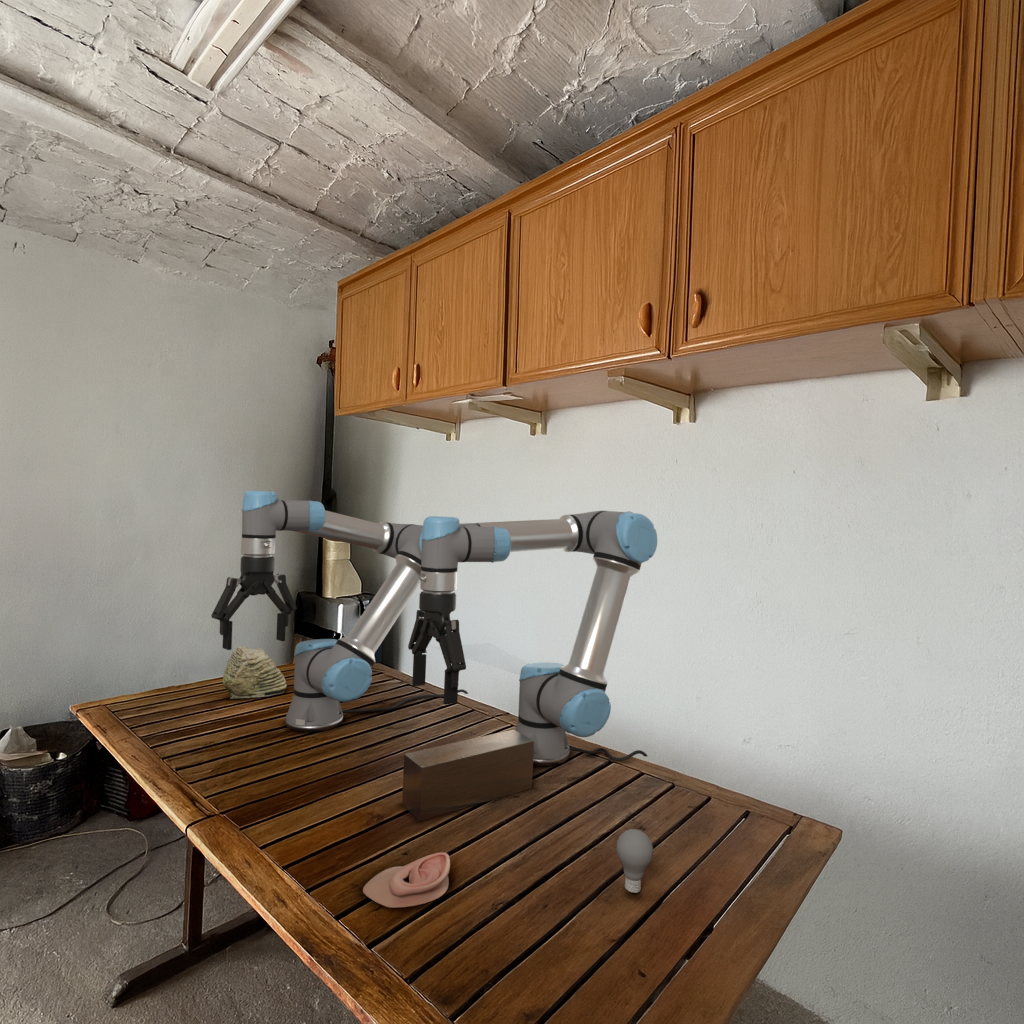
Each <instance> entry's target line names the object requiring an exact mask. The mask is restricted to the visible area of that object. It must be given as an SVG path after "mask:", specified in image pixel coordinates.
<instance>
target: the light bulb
mask: <svg viewBox="0 0 1024 1024" xmlns="http://www.w3.org/2000/svg"><path fill="white" fill-rule="evenodd" d="M615 849H616V854H617V857H618V859H619V861H620V863H621V865H622V867H623V873H624V874H623V875H624V876H625V878H624V888H625V890H627V891H628V892H630V893H634V894H635V893H639V892H640V891H641V889H642V887H641V886H642V879H643V877H644V875H645V871H646V868H647V867H648V866H649V864H650V863H651V861H652V859H653V855H654V847H653V843H652V841H651V838H649V836H648V835H647V834H646V833H645V832H643V831H642V830H641V829H636V828H629V829H627V830H625V831H623V832H622V833H621V834H620V835H619V837H618V839H617V841H616V847H615Z"/></svg>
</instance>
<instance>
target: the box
mask: <svg viewBox="0 0 1024 1024" xmlns="http://www.w3.org/2000/svg"><path fill="white" fill-rule="evenodd" d="M515 730H516V729H510V730H506V731H500V732H497V733H496V732H495V733H491V734H488V735H483V736H478V737H474V738H469V739H465V740H460V741H455V742H451V743H447V744H442V745H438V746H433V747H428V748H423V749H419V750H415V751H411V752H406V753H404V754H403V771H402V772H403V773H402V775H403V776H402V797H401V806H403V807H404V808H405V809H406V810H407V811H408V812H409V813H410V814H411V815H413V817H414V818H415V819H417V820H418V822H422V821H426V820H429V819H433V818H436V817H441V816H443V815H446V814H450V813H453V812H455V811H459V810H463V809H466V808H470V807H473V806H476V805H480V804H483V803H486V802H490V801H493V800H497V799H501V798H503V797H507V796H510V795H514V794H517V793H521V792H525V791H528V790H530V789H533V777H534V776H533V772H534V765H533V754H534V740H532V739H530V738H528V737H526V736H524V735H522V734H521V733H519V732H517V731H515Z"/></svg>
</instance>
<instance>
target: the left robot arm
mask: <svg viewBox="0 0 1024 1024" xmlns="http://www.w3.org/2000/svg"><path fill="white" fill-rule="evenodd" d="M241 514H242V515H241V516H242V517H241V518H242V519H241V520H242V521H241V526H242V527H241V542H240V543H241V545H240V554H241V555H243V556H241V557H240V577H239V578H238V577H231V576H228V577H227V578H226V582H225V587H224V589H223V591H222V593H221V595H220V597H219V599H218V601H217V603H216V605H215V607H214V609H213V611H212V613H211V618H212V619H215V620H218V621H219V635H221V636H222V649H224V650H226V651H231V650H232V647H233V621H232V620H231V619H232V617H233V616H234V615H235V613H236V612H237V611H238V609H240V607H241V605H242V604H243V603H244V602H245V600H246V599H248V598H249V597H250V596H252V597H253V596H258V595H261V596H263V595H266V596H267V598H269V599H270V601H271V602H272V603H273V604H274V605H275V607H276V608H277V609H278V610H279V613H277V614H276V640H277V641H280V642H286V633H287V632H286V628H287V627H289V621H290V615H291V614H292V612H293V611H296V610H297V605H296V602H295V600H294V597H293V595H292V594H291V591H290V589H289V586H288V584H287V576H286V574H283V573H277V574H274V572H275V564H276V562H275V561H276V558H275V556H273V555H275V554H276V538H277V532H282V531H290V532H296V533H301V534H305V535H310V536H315V537H319V538H323V539H327V540H333V541H338V542H341V543H345V544H350V545H354V546H359V547H363V548H368V549H372V551H373V552H374V553H376V554H380V555H383V556H386V557H389V558H392V559H395V565H394V567H393V569H392V571H390V573H389V574H388V576H387V577H386V579H385V580H384V582H383V583H382V584H381V586H380V588H379V589H378V591H377V592H376V594H375V595H374V596H373V598H372V600H370V602H369V604H368V606H367V607H366V608H365V610H364V611H363V613H362V614H361V615H360V617H359V618H358V620H357V621H356V623H355V625H354V626H353V627H352V628H351V630H350V631H349V633H348V635H347V636H344V637H340V638H338V639H336V638H319V639H308V640H303V641H300V642H297V644H296V645H295V650H294V655H293V656H294V672H293V695H292V696H293V697H292V699H291V702H290V704H289V708H288V711H287V713H286V715H285V726H286V728H287V729H289V730H291V731H294V732H295V731H296V732H301V733H316V732H325V731H329V730H332V729H335V728H337V727H339V726H340V725H342V723H343V722H344V714H357V713H358V714H362V713H363V714H364V713H379V712H386V711H391V710H394V709H396V708H398V707H399V706H401V705H403V704H405V703H408V702H411V701H414V700H419V699H424V698H444V693H442V694H441V693H439V694H436V693H434V694H433V693H431V694H420V695H416V696H412V697H411V696H410V697H409V698H406V699H403V700H401V701H399V702H397V703H395V704H394V705H391V706H388V707H381V708H366V709H342V706H341V703H350V702H353V701H357V700H358V699H359V698H361V697H362V696H364V694H365V693H366V692H367V691H368V690H369V688H370V686H371V684H372V680H373V677H372V675H373V671H372V668H373V666H374V665H375V663H376V657H375V655H376V654H375V653H377V650H378V649H379V647H380V646H381V644H382V643H383V641H384V640H385V638H386V636H388V634H389V632H390V630H391V629H392V627H393V626H394V625H395V623H396V621H397V620H398V618H399V617H400V615H401V614H402V612H403V610H404V609H405V608H406V606H407V604H408V603H409V601H410V600H411V599H412V597H413V595H414V594H415V593H416V591H417V589H418V587H420V581H421V580H420V579H419V577H420V576H421V554H422V540H421V537H422V529H423V524H415V523H396V522H395V523H394V522H393V523H392V522H387V521H383V520H382V521H380V522H375V521H370V520H365V519H362V518H358V517H354V516H350V515H345V514H342V513H338V512H334V511H330V510H326V509H325V506H324V504H323V503H322V502H320V501H317V500H316V501H315V500H297V499H281V498H278V493H277V492H276V491H263V490H247V491H246V492H244V494H243V499H242V507H241ZM274 583H275V584H276V586H277V588H278V591H279V593H280V595H281V597H280V595H278V594H277V592H276V590H275V588H274V587H273V584H274ZM239 585H240V588H239V589H238V591H237V592H236V595H234V594H235V591H236V590H237V588H238V587H239ZM233 596H234V598H233ZM458 693H464V695H468V694H469V692H468V691H467V690H465V689H458Z"/></svg>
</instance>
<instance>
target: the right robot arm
mask: <svg viewBox="0 0 1024 1024" xmlns="http://www.w3.org/2000/svg"><path fill="white" fill-rule="evenodd" d="M422 525H423V529H422V537H421V540H422V554H421V576H420V577H419V579H420V580H421V581H420V585H419V589H420V590H421V591H420V593H419V598H418V599H419V601H418V608H419V609H417V610H416V614H415V616H416V617H415V621H414V624H413V628H412V631H411V635H410V638H409V642H408V645H407V648H408V650H409V651H411V654H412V655H413V657H412V661H413V662H412V680H411V681H412V682H411V686H412V687H420V686H425V685H426V678H427V677H426V676H427V675H426V674H427V673H426V671H427V654H428V652H427V648H428V646H429V645H430V643H431V641H432V639H433V638H434V639H435V641H436V642H437V643H438V644H439V647H440V651H441V655H442V657H443V660H444V663H445V666H446V669H444V681H443V683H444V684H443V686H444V687H443V694H444V697H443V702H442V703H443V705H445V706H446V705H447V706H448V705H453V704H458V696H459V695H458V690H459V677H460V672H461V671H464V670H466V669H467V663H466V658H465V653H464V649H463V643H462V638H461V634H460V620H459V619H451V613H453V612H454V611H456V609H457V594H456V592H455V591H457V590H458V567H459V563H490V564H491V563H493V564H494V563H499V562H504V561H506V560H507V559H508V558H509V557H510V555H511V553H518V552H534V551H547V550H549V551H550V550H562V551H563V552H565V553H572V552H573V553H575V552H576V553H585V554H589V555H593V556H592V560H593V562H594V563H595V566H596V568H595V572H594V575H593V578H592V581H591V585H590V589H589V591H588V595H587V596H588V597H587V599H586V603H585V606H584V609H583V612H582V616H581V620H580V623H579V626H578V630H577V633H576V637H575V639H574V643H573V647H572V650H571V654H570V657H569V660H568V662H567V663H566V664H563V663H559V662H531V663H528V664H525V665H523V666H522V667H521V669H520V674H519V679H518V681H519V689H518V690H519V692H518V696H519V697H518V713H517V714H518V716H517V723H516V727H515V729H514V730H515V731H517V732H519V733H521V734H522V735H524V736H526V737H528V738H530V739H532V740H534V754H533V766H536V767H551V766H558V765H560V764H563V763H566V762H567V761H568V760H569V759H570V751H573V752H578V753H582V754H586V755H596V754H597V753H598V752H601V753H605V754H606V756H607V757H608V758H609V759H610V760H611V761H614V762H624V761H627V760H629V759H631V758H633V757H634V756H636V755H638V754H639V755H642V756H643V757H648V754H647V753H646V752H645V751H644V750H640V749H637V750H634V751H632V752H631V753H629V754H627V755H625V756H619V757H618V756H617V757H616V756H613V755H612V754H611V753H610V751H609V750H608V749H606V748H604V747H597V748H595V749H594V750H588V749H583V748H579V747H573V746H570V743H569V741H568V736H567V734H571V735H573V736H575V737H577V738H578V737H579V738H588V737H591V736H594V735H595V734H596V733H597V732H600V731H601V730H602V729H603V728H604V726H605V725H606V724H607V722H608V720H609V718H610V715H611V711H612V710H611V708H612V707H611V706H612V705H611V702H610V697H609V696H608V694H607V693H606V690H607V687H608V680H607V678H606V677H605V669H606V666H607V664H608V659H609V656H610V653H611V649H612V645H613V642H614V639H615V635H616V631H617V628H618V624H619V622H620V617H621V614H622V610H623V607H624V603H625V600H626V596H627V593H628V590H629V586H630V583H631V578H632V577H634V576H635V575H637V574H639V573H640V570H641V567H642V564H643V563H645V562H648V561H649V560H650V559H651V558H653V556H654V555H655V553H656V551H657V547H658V533H657V530H656V528H655V526H654V523H653V521H652V520H651V519H650V518H649V517H648V516H646V515H644V514H642V513H639V512H633V511H615V510H614V511H613V510H594V511H587V512H580V513H573V514H564V515H563V514H562V516H560V518H553V519H533V520H532V519H530V520H529V519H528V520H510V521H509V520H508V521H485V522H466V523H465V522H464V523H460V519H459V518H458V517H455V516H438V515H436V516H435V515H433V516H427V517H425V518H424V520H423V523H422Z"/></svg>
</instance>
